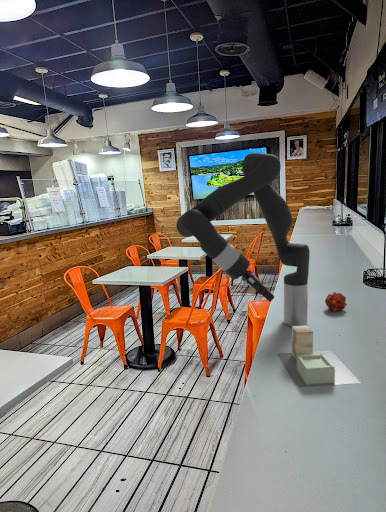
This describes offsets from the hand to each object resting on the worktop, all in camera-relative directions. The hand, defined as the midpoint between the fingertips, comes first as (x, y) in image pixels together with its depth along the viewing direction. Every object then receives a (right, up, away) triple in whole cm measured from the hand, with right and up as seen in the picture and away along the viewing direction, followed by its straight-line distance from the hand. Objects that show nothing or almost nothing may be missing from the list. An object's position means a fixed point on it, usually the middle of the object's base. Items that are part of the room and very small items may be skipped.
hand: (268, 295), depth 105 cm
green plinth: (+12, -23, -6) cm, 27 cm away
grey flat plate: (+14, -23, -1) cm, 27 cm away
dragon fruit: (+41, -12, +48) cm, 64 cm away
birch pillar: (+12, -21, +5) cm, 24 cm away
